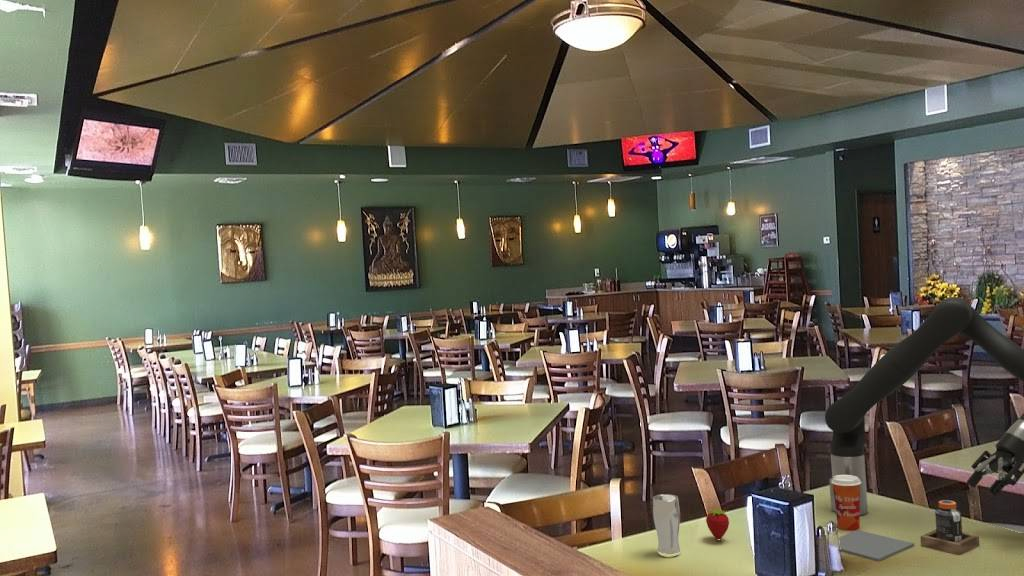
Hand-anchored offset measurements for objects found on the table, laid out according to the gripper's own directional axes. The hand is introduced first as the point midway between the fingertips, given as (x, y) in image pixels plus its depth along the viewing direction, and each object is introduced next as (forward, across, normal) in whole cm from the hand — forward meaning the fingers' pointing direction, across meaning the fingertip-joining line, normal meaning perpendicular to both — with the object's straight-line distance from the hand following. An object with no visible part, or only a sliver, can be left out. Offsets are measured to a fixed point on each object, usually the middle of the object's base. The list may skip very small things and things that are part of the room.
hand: (980, 489), depth 209 cm
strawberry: (+54, -20, -35) cm, 68 cm away
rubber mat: (+30, -5, -10) cm, 32 cm away
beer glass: (+66, -13, -46) cm, 81 cm away
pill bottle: (+16, 0, +3) cm, 17 cm away
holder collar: (+16, 0, +3) cm, 16 cm away
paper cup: (+28, -20, -8) cm, 36 cm away
